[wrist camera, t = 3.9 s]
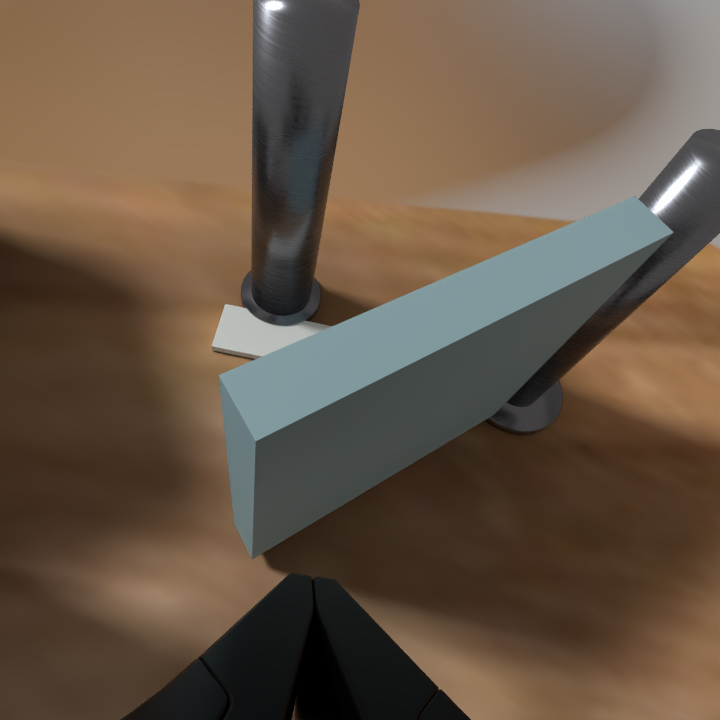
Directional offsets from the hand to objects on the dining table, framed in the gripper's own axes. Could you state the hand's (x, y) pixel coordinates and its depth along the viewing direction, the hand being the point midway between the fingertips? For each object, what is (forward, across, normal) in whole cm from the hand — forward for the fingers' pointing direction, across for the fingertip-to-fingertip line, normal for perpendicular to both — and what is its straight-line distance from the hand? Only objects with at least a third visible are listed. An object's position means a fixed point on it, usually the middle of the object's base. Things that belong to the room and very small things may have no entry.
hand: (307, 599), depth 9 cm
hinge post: (+12, +8, +2) cm, 15 cm away
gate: (+9, +2, -1) cm, 9 cm away
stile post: (+14, -2, +3) cm, 14 cm away
